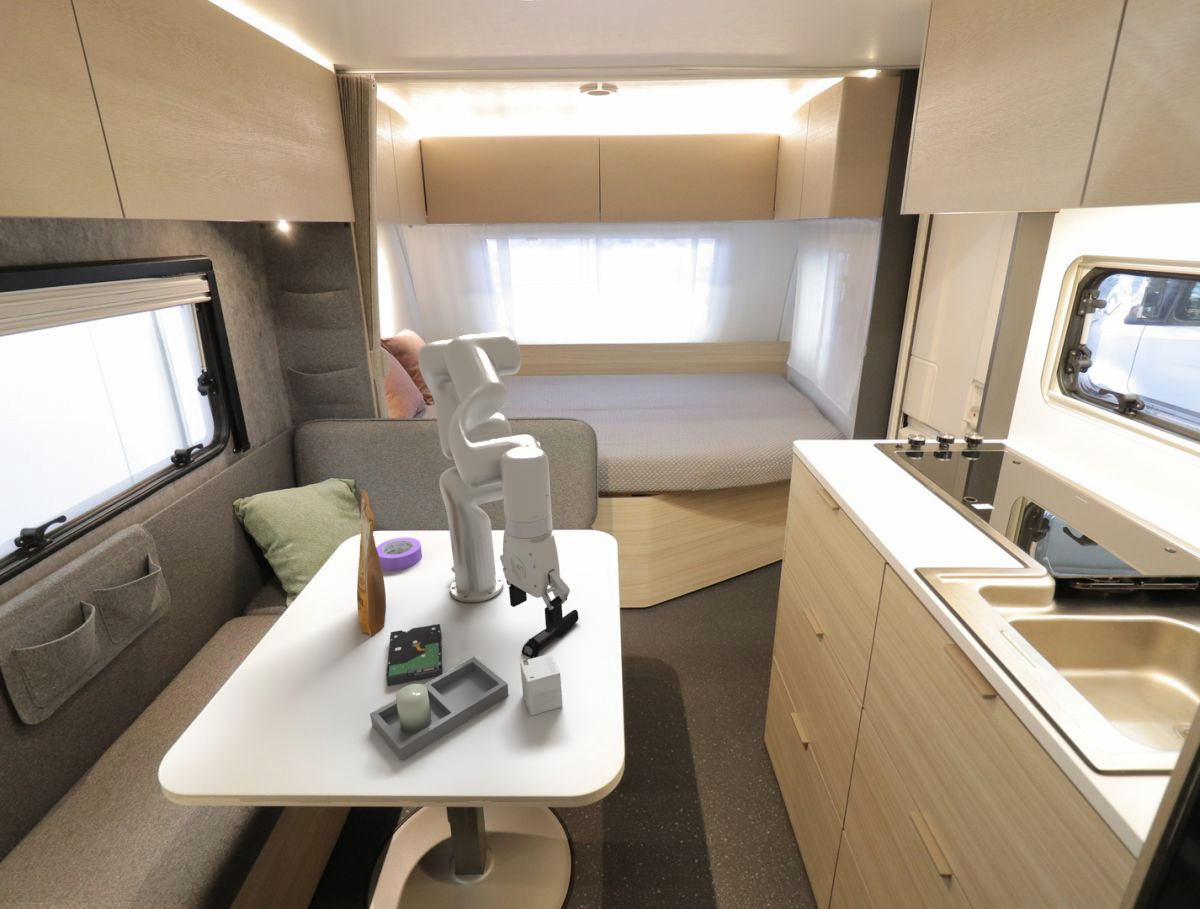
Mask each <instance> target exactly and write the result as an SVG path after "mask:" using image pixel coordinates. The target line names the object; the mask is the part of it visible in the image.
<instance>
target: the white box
mask: <svg viewBox="0 0 1200 909" xmlns="http://www.w3.org/2000/svg"><path fill="white" fill-rule="evenodd" d="M519 666H520V676H521V686H522V688H521V689H522V695H523V698H524V702H525V705H526V708H527V710H528V712H529V715H530V716H535V715H538V714H539V715H540V714H542V713H545V712H549V711H551V710H552V711H553V710H555V709H558V708H562V707H563V705H564V704H563V693H562V692H563V691H562V681H561V680H562V679H561V678H562V677H561V672H560V669H559V667H558V665H557V662H556V661H555V659H554V657H553V655H552V653H547V654H544V655H540V656H537V657H536V658H532V659H531V658H529V659H525V660H522V661H520V662H519Z"/></svg>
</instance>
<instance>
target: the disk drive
mask: <svg viewBox="0 0 1200 909" xmlns="http://www.w3.org/2000/svg"><path fill="white" fill-rule="evenodd" d="M442 638H443V637H442V629H441V623H436V624H431V625H426V626H418V627H414V628H413V627H412V628H411V629H410V630H408V631H403V630H402V629H401V630H397V631H396V630H395V631H391V632H390V636H389V647H388V657H387V665H386V683H387V686H388V687H391V686H396V685H401V684H406V683H412V682H417V681H422V680H428V679H434V678H436V677H438V676H440V675H442V674H443V650H442V648H443V646H442V645H443V644H442Z"/></svg>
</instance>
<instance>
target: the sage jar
mask: <svg viewBox="0 0 1200 909" xmlns="http://www.w3.org/2000/svg"><path fill="white" fill-rule="evenodd" d="M395 700H396V703H397V709H398V715H399V721H400V726H401V730H402V731H403V732H405V733H407V734H416V733H419V732H420V731H422V730H424V729H425V728H427V727H429V725H430V724H431V721H432V717H431V710H430V704H429V697H428V690H427V688H426V686H424V685H423V684H421V683H411V684H408V685H405V686H404V687H402V688H400V689H399V690H398V691H397V693H396V694H395Z"/></svg>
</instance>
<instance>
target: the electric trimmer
mask: <svg viewBox="0 0 1200 909" xmlns="http://www.w3.org/2000/svg"><path fill="white" fill-rule="evenodd" d="M578 621H579V611H578V610H577V609H572V610H571V611H570V612H568V613H567V614H566V615H564V616H563V622H562V623H561V624H559V625H557V626H556V627H554V628H552V629H550V630H548V629H547V628H546V627H545V628H544V629H543V630H541V631H539V632H538V633H536V634H535V635H534V636H532V637H530V638H529V639H528V640H527V641H526V642H525V643H524V645H523V646H522V648H521V654H522V656H526V657H527V658H529V659H532V658H536V657H538V655H539V653H540V652H541V651H542V650H543V649H544V648H545V647H546V646H548V645H549V644H550V643H551V642H553V641H555V639H556V638H561V637H563V636H564V635H566V633H567V632H569V630H570V629H571V628H572V627H573V626H574V625H575V624H576V623H577V622H578Z"/></svg>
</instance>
